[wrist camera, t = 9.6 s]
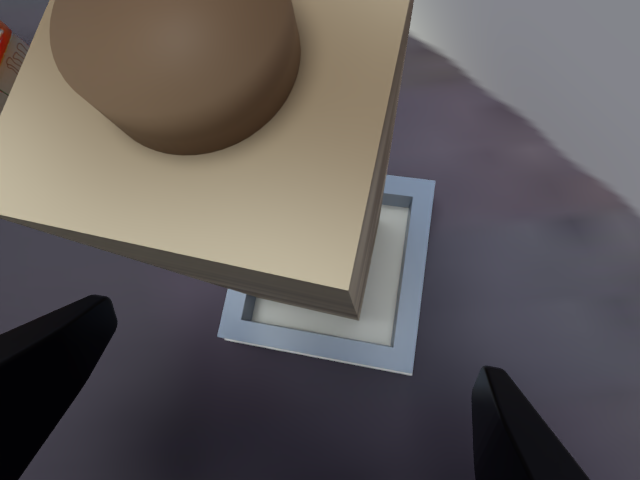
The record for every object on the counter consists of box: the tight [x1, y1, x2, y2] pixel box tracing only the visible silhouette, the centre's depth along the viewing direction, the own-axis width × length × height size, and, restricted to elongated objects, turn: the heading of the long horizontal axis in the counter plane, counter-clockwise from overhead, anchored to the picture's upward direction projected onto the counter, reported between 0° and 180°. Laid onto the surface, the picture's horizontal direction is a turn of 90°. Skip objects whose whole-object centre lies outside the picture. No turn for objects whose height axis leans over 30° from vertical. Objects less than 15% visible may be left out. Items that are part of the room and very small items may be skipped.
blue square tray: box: [217, 175, 435, 376], centre depth 17 cm, size 8×8×2 cm
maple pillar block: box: [0, 0, 414, 321], centre depth 10 cm, size 4×4×14 cm
